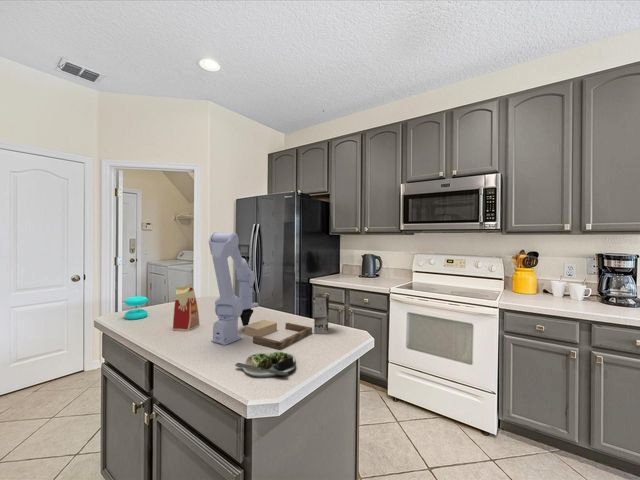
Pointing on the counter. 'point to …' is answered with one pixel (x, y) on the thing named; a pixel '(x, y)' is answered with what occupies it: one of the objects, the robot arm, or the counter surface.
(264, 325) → the kraft carton
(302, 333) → the tray
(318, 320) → the coffee box
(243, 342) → the counter surface
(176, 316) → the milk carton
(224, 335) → the robot arm
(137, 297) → the turquoise double disc piece
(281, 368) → the salad plate
